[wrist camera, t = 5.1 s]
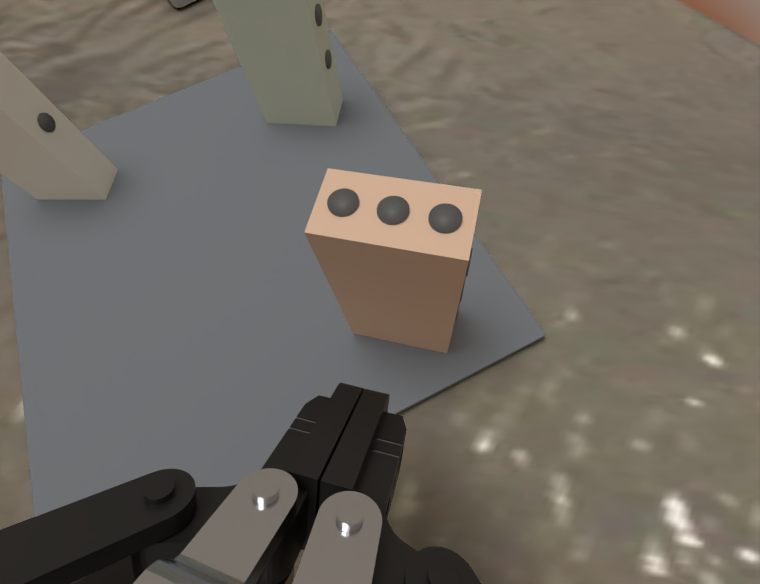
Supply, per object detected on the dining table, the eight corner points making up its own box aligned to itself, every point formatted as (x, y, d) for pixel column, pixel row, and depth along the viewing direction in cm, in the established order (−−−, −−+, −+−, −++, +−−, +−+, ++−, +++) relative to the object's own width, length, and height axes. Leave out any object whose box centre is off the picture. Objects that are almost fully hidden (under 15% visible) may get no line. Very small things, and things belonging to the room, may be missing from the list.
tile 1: (107, 199, 27) (-57, 57, 18) (37, 199, 27) (-157, 61, 18) (119, 169, 28) (-30, 19, 19) (51, 169, 28) (-126, 24, 19)
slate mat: (53, 593, 18) (42, 597, 18) (7, 169, 30) (-1, 163, 29) (543, 338, 21) (546, 334, 21) (332, 36, 32) (330, 29, 32)
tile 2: (337, 126, 28) (296, -47, 18) (266, 122, 28) (192, -45, 19) (344, 99, 29) (308, -78, 19) (275, 96, 29) (209, -76, 20)
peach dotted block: (449, 353, 21) (472, 259, 11) (353, 333, 22) (303, 230, 12) (457, 308, 22) (485, 188, 12) (365, 291, 22) (327, 166, 13)
